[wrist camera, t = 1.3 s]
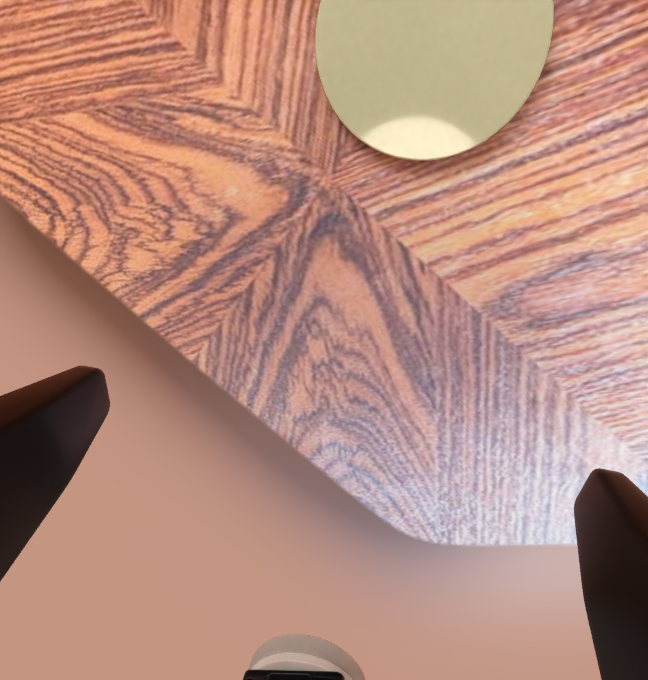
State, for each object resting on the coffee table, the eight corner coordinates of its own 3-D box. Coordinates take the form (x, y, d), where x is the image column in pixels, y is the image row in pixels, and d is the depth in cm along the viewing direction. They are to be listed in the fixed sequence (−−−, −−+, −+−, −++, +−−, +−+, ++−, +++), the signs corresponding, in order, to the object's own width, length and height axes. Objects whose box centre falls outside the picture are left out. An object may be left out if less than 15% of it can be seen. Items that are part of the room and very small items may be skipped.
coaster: (554, 138, 19) (558, 136, 19) (336, 179, 21) (334, 179, 20) (544, -133, 17) (549, -144, 16) (298, -60, 19) (295, -68, 18)
